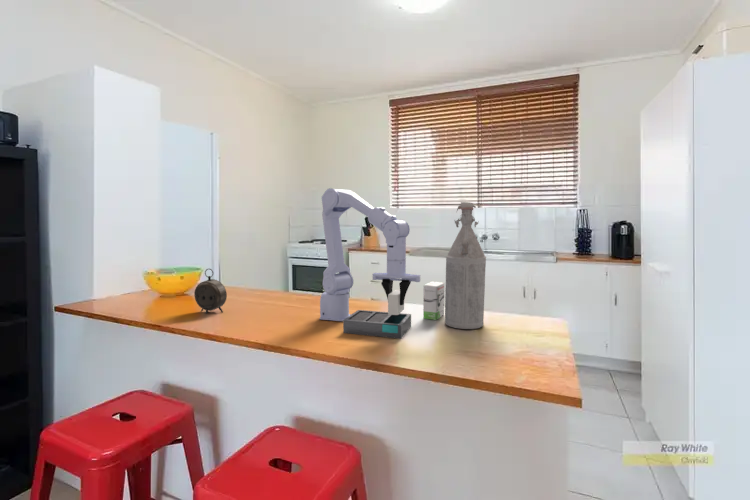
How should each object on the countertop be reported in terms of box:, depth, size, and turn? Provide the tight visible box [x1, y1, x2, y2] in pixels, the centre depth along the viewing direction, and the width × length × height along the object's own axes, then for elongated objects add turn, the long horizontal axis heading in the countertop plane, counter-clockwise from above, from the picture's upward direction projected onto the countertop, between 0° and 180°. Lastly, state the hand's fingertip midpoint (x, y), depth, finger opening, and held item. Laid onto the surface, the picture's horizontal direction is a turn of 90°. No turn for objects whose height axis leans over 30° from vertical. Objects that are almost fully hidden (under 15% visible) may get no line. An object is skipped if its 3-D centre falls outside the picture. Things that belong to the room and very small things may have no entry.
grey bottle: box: [444, 201, 487, 330], centre depth 126 cm, size 13×17×40 cm
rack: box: [342, 309, 412, 340], centre depth 121 cm, size 18×13×4 cm
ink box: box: [422, 280, 446, 321], centre depth 136 cm, size 9×5×12 cm, turn 151°
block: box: [387, 289, 405, 315], centre depth 119 cm, size 3×8×6 cm, turn 163°
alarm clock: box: [194, 268, 228, 314], centre depth 142 cm, size 11×5×16 cm, turn 76°
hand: (396, 304), depth 119 cm, fingers closed on block, 3 cm apart
